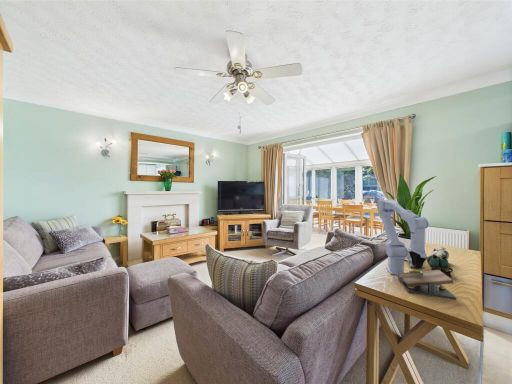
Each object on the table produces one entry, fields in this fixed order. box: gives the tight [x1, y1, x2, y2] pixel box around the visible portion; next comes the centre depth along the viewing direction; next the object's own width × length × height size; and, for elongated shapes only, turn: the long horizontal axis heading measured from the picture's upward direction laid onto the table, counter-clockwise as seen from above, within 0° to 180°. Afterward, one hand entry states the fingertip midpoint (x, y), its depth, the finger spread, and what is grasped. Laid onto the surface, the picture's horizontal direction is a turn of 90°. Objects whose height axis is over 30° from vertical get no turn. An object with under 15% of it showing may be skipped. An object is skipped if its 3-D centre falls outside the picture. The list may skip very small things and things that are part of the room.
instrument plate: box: [398, 269, 454, 287], centre depth 100 cm, size 12×18×3 cm, turn 71°
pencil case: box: [426, 247, 450, 267], centre depth 130 cm, size 22×8×10 cm, turn 131°
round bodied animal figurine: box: [406, 252, 415, 268], centre depth 129 cm, size 7×12×8 cm, turn 130°
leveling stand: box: [397, 276, 457, 300], centre depth 100 cm, size 15×18×6 cm
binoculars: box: [429, 254, 453, 277], centre depth 116 cm, size 9×11×10 cm
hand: (417, 267), depth 104 cm, fingers open, 3 cm apart
